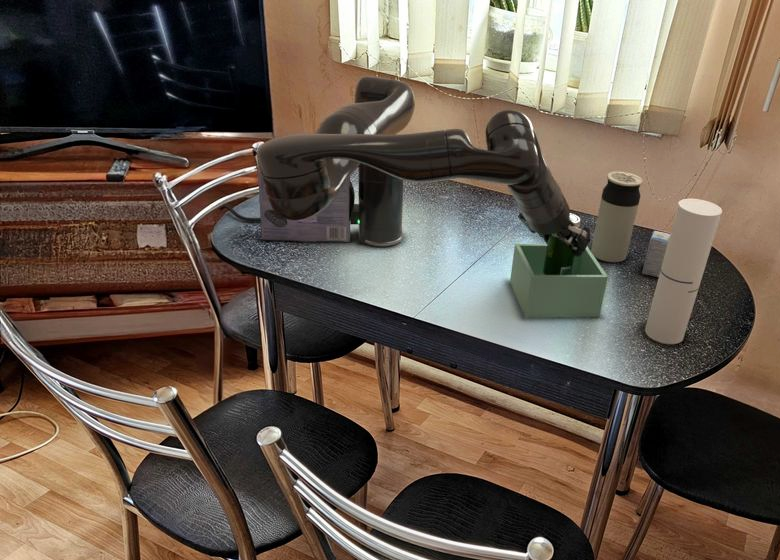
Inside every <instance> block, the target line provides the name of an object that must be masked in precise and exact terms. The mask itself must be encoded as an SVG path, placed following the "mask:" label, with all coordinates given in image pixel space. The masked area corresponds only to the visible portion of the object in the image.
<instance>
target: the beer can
mask: <svg viewBox="0 0 780 560" xmlns="http://www.w3.org/2000/svg"><path fill="white" fill-rule="evenodd" d="M570 220H571V221H572V222H573V223H574V224H575V227H577V228H579V229H581V222H580V221H581V218H580V217H579V216H578V215H576V214H574V213H571V212H570ZM564 238H565V237H564ZM574 239H575V237H574V238H573V240H572V242H573V241H574ZM546 244H547V243H546ZM574 256H575V255H574V253H573V252H572V250H571V247H570V246H569V245H566V244H563V243H562V242H561V241H560V240H559V239H558V238H557V237H554V236H553V235H552V234H549V238H548V244H547V250H546V256H545V262H544V268H543V273H544V275H571V272H572V266H573V261H574Z"/></svg>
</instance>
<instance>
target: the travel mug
mask: <svg viewBox="0 0 780 560" xmlns="http://www.w3.org/2000/svg"><path fill="white" fill-rule="evenodd" d="M606 178H607V183H606V184H605V186H604V187H603V188H602V191H601V197H600V198H601V199H600V203H599V208H598V213H597V218H596V223H595V229H594V233H593V238H592V243H591V249H590V251H591V253H592V254H593V255H594V257H595V258H596V259H597V260H600V261H602V262H606V263H620V262H623V261H625V260H626V259H627V257H628V251H629V248H630V244H631V243H630V242H631V239H632V234H633V230H634V225H635V222H636V217H637V213H638V209H639V204H640V201H641V193H640V187H641V185H642V184H643V182H644V180H643V179H642V178H641V177H640V176H638V175H637V174H634V173H631V172H626V171H612V172H611V171H610V172H609V173H607V175H606Z"/></svg>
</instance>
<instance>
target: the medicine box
mask: <svg viewBox="0 0 780 560" xmlns="http://www.w3.org/2000/svg"><path fill="white" fill-rule="evenodd" d="M650 236H651V237H650V240H649V242H648V243H649V244H648V248H647V251H646V256H645V260H644V264H643V268H642V272H641V274H642V275H646V276H651V277H655V278H659V275H660V271H661V267H662V263H663V260H664V256H665V252H666V248H667V245H668V241H669V237H670V233H668V232H663V231H658V230H653V232H652V234H651V235H650Z"/></svg>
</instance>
